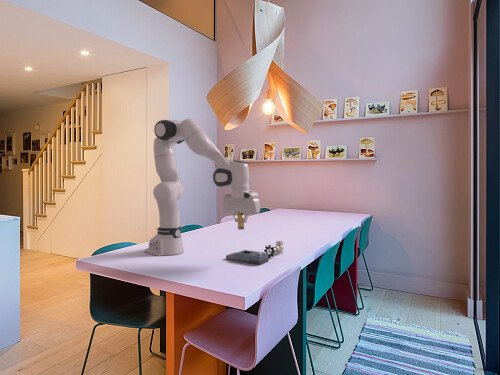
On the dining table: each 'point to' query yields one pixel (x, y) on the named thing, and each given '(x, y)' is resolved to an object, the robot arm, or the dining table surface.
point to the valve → (275, 249)
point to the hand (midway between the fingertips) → (240, 222)
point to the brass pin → (240, 220)
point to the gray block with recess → (249, 257)
